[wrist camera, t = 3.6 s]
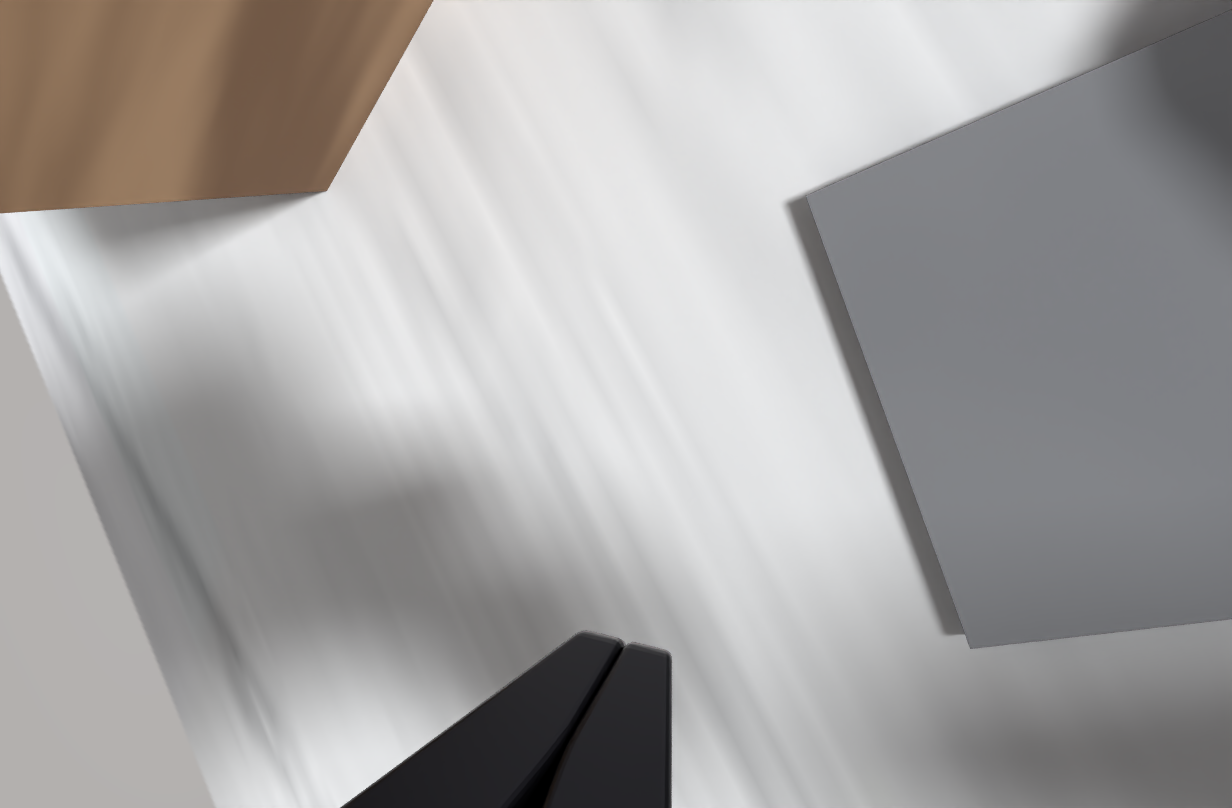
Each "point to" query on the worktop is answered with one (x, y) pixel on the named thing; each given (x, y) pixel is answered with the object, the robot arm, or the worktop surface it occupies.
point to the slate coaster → (1061, 343)
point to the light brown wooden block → (187, 96)
